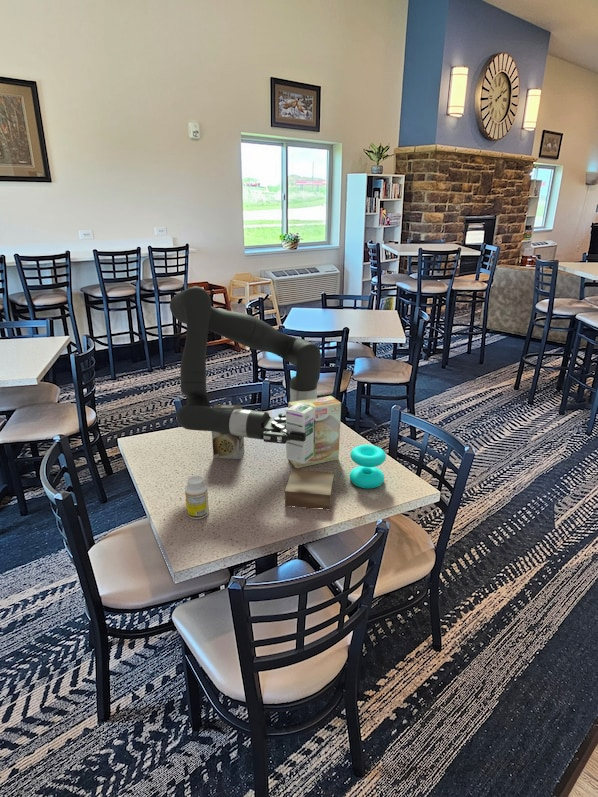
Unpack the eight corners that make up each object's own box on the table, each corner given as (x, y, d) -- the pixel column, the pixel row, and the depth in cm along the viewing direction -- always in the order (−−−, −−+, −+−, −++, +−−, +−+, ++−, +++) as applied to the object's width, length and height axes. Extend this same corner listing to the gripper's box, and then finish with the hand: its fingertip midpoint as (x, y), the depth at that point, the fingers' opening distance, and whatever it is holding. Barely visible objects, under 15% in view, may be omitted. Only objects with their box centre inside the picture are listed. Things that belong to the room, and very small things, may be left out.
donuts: (344, 452, 139) (361, 439, 147) (343, 483, 143) (359, 469, 151) (376, 462, 134) (392, 448, 142) (374, 494, 138) (389, 479, 145)
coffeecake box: (296, 469, 151) (296, 409, 144) (287, 458, 157) (287, 401, 150) (339, 459, 156) (342, 402, 149) (329, 450, 162) (331, 394, 155)
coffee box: (244, 450, 162) (243, 404, 156) (240, 459, 156) (238, 412, 150) (217, 449, 163) (214, 403, 157) (212, 458, 157) (209, 411, 151)
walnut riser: (292, 484, 143) (292, 468, 141) (333, 487, 142) (334, 472, 140) (284, 507, 132) (284, 491, 130) (329, 511, 130) (330, 495, 129)
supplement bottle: (194, 506, 132) (192, 472, 128) (213, 510, 130) (210, 476, 126) (182, 517, 127) (179, 482, 123) (201, 522, 125) (198, 487, 121)
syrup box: (304, 464, 129) (304, 413, 124) (285, 458, 132) (285, 408, 127) (315, 456, 134) (316, 406, 128) (296, 450, 137) (297, 401, 131)
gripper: (239, 421, 126) (302, 429, 122) (258, 401, 139) (315, 408, 135) (240, 447, 128) (301, 456, 124) (258, 425, 141) (315, 433, 137)
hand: (309, 431), depth 130 cm, fingers closed on syrup box, 7 cm apart
